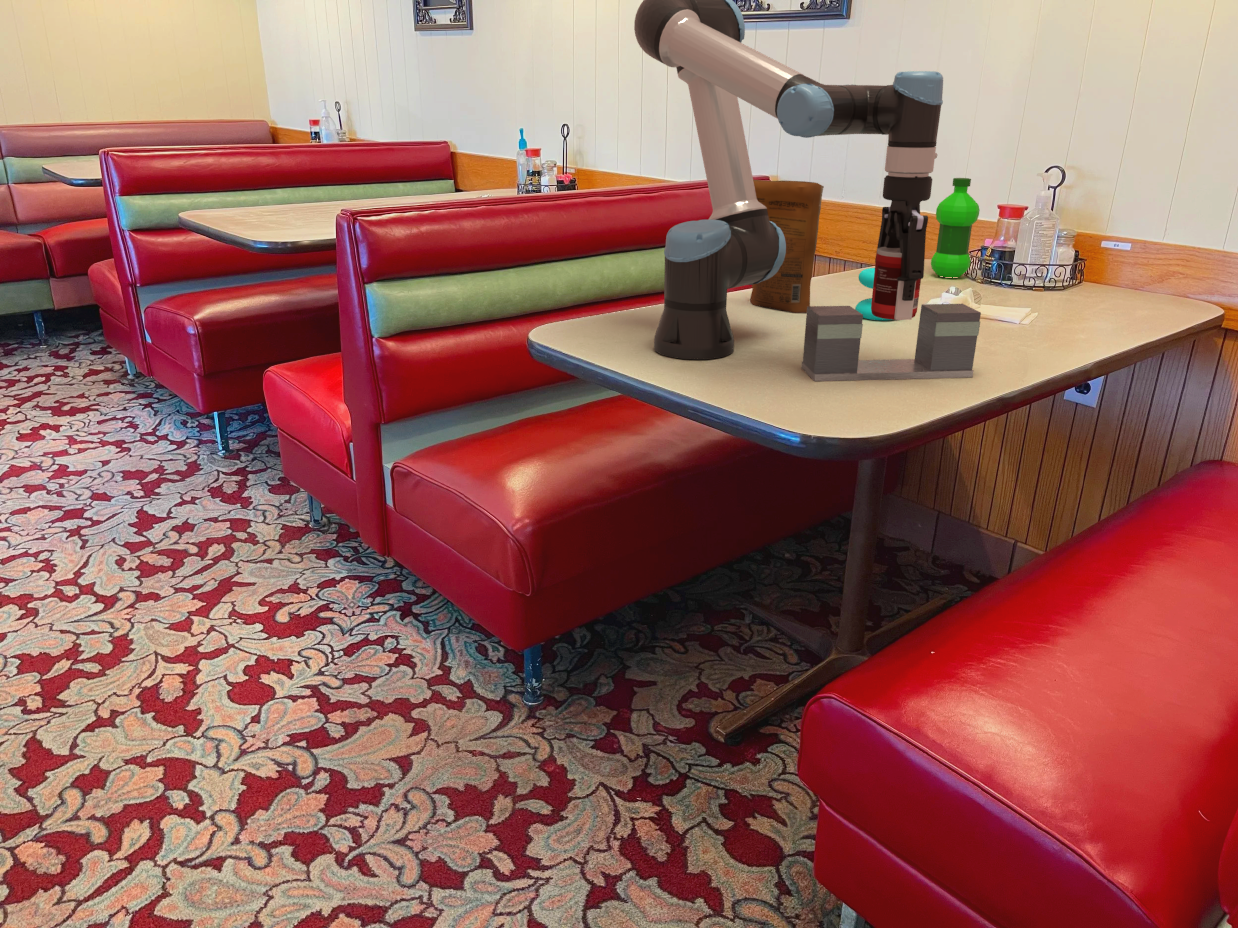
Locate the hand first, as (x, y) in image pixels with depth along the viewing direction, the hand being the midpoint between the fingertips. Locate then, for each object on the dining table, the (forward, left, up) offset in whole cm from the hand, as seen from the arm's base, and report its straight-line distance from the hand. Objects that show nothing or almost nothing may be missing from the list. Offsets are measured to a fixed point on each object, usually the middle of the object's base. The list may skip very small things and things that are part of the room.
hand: (893, 313), depth 159 cm
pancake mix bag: (-6, +52, -11) cm, 54 cm away
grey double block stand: (0, 0, -11) cm, 11 cm away
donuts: (+14, +42, -11) cm, 46 cm away
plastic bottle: (+49, +85, -11) cm, 99 cm away
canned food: (0, 0, 0) cm, 0 cm away
